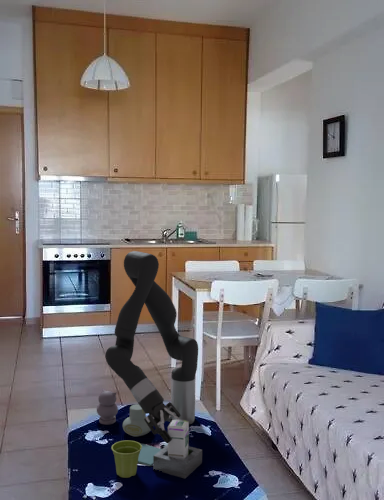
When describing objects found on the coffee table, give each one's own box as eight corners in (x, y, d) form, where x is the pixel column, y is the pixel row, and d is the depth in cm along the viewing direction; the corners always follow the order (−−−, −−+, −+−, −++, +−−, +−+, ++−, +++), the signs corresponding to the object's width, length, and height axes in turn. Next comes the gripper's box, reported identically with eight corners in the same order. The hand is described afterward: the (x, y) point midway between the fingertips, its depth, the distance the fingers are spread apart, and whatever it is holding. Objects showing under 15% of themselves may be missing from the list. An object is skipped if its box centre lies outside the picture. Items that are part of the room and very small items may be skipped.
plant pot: (114, 465, 174) (114, 439, 174) (143, 466, 174) (143, 440, 173) (108, 480, 165) (109, 453, 164) (139, 481, 165) (139, 454, 164)
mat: (141, 445, 189) (141, 443, 189) (168, 452, 184) (168, 450, 184) (122, 458, 179) (122, 456, 179) (150, 466, 174) (150, 464, 174)
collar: (171, 454, 183) (171, 441, 182) (202, 462, 177) (202, 449, 177) (153, 469, 172) (153, 455, 172) (185, 478, 167) (185, 464, 167)
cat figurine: (92, 421, 208) (92, 391, 207) (106, 415, 214) (106, 385, 213) (108, 427, 203) (108, 396, 202) (122, 420, 210) (122, 390, 208)
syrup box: (185, 471, 171) (185, 427, 170) (166, 469, 173) (167, 425, 171) (188, 463, 177) (189, 420, 176) (171, 460, 178) (171, 418, 177)
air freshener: (119, 435, 196) (119, 409, 195) (128, 426, 204) (128, 401, 203) (147, 440, 193) (147, 413, 192) (155, 430, 201) (155, 404, 200)
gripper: (141, 395, 171) (172, 439, 166) (165, 382, 183) (194, 422, 179) (127, 408, 174) (157, 451, 169) (151, 395, 186) (179, 434, 182)
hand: (176, 436), depth 174 cm, fingers open, 8 cm apart
